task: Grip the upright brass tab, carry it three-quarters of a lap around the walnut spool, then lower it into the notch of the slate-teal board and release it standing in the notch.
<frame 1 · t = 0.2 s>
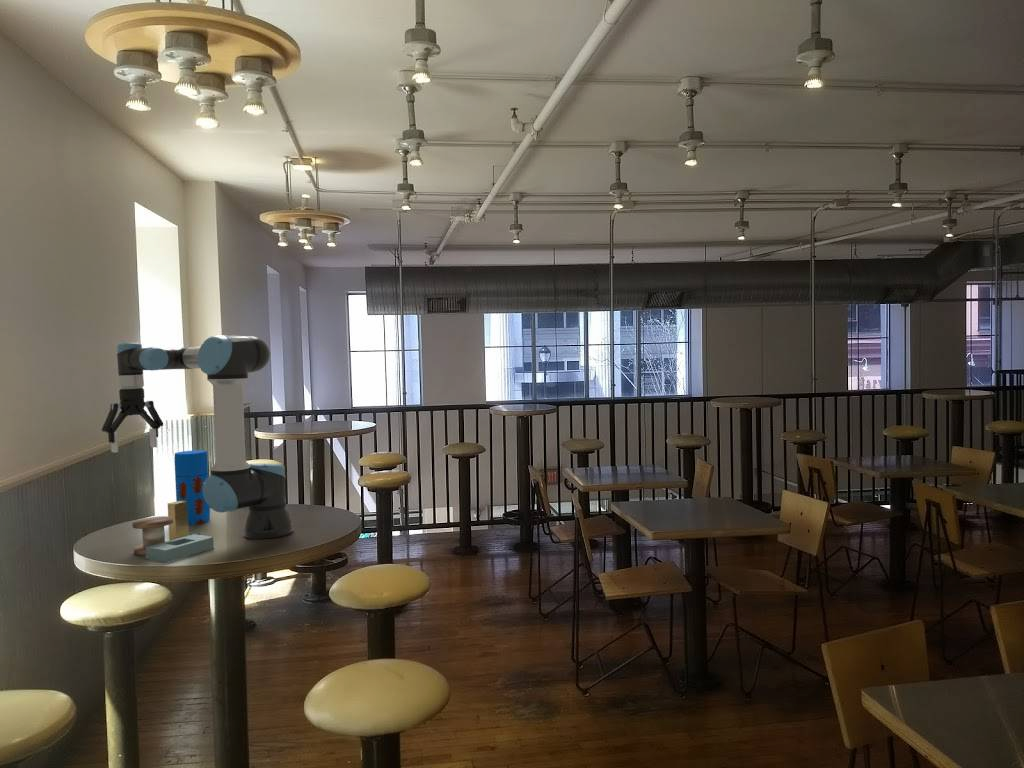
hand: (134, 449, 241), 28 cm above the table, fingers open, 13 cm apart
notch board: (180, 553, 209), on the table
tab: (179, 539, 226), on the table
thermos: (194, 522, 251), on the table
spool: (154, 550, 213), on the table
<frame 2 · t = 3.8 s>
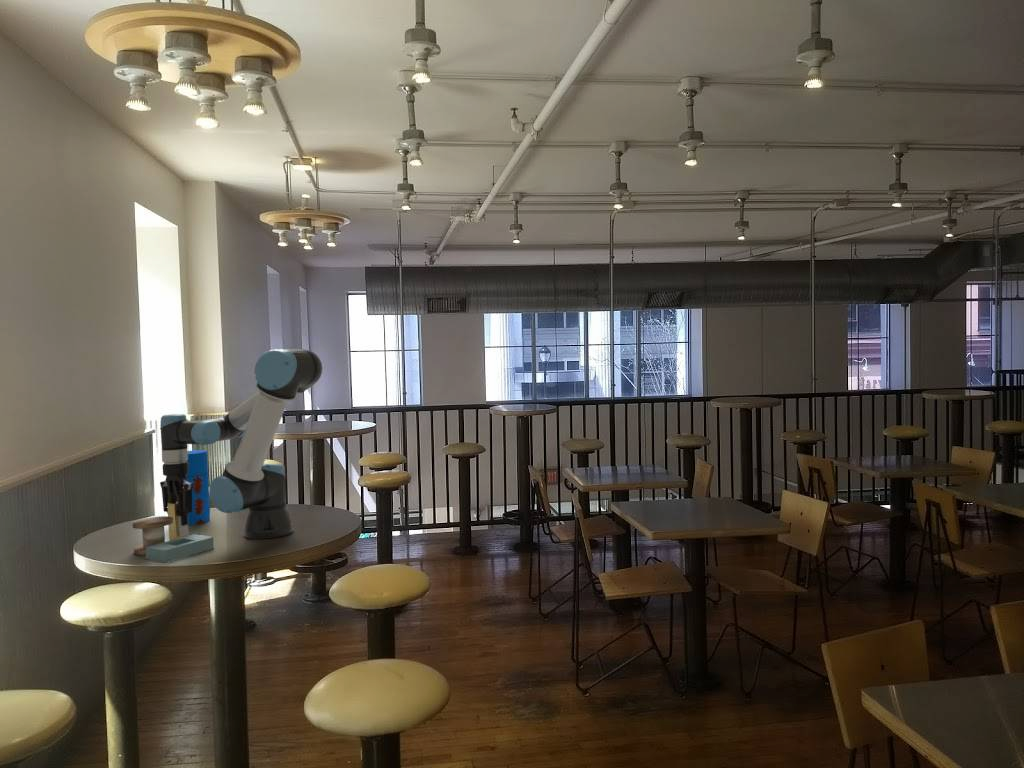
hand: (178, 534, 226), 2 cm above the table, fingers closed on tab, 3 cm apart
tab: (179, 539, 226), on the table, touching gripper
everything else where it was.
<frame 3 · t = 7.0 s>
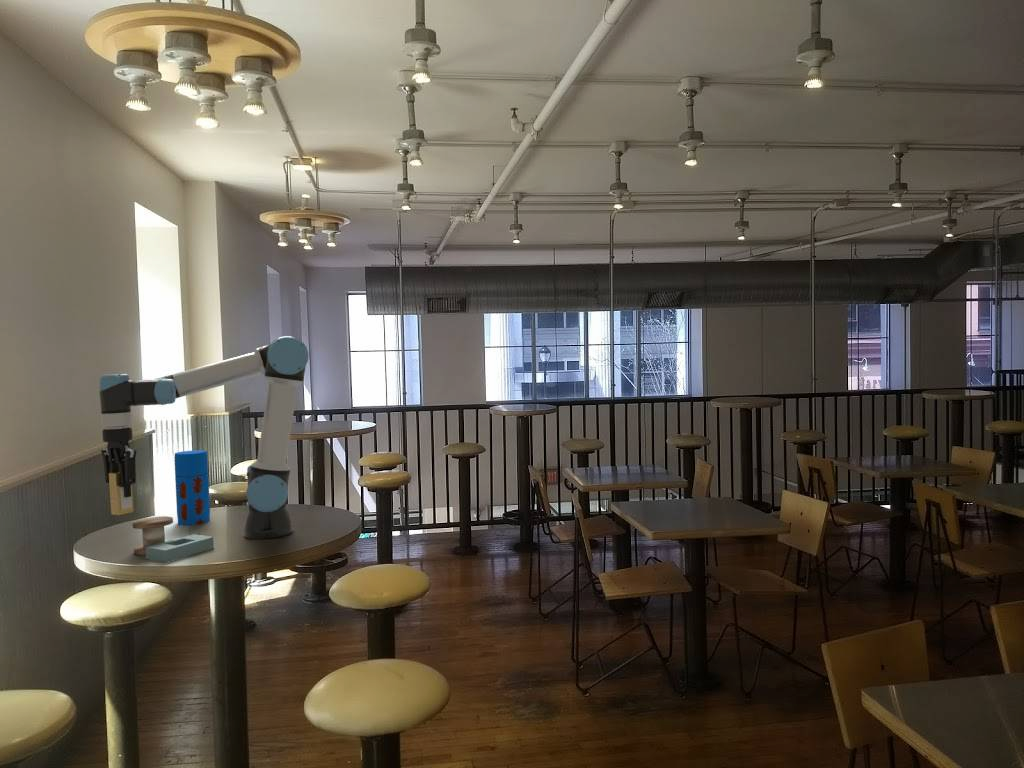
hand: (122, 507, 204), 15 cm above the table, fingers closed on tab, 3 cm apart
tab: (122, 513, 204), point 14 cm above the table, touching gripper
everything else where it was.
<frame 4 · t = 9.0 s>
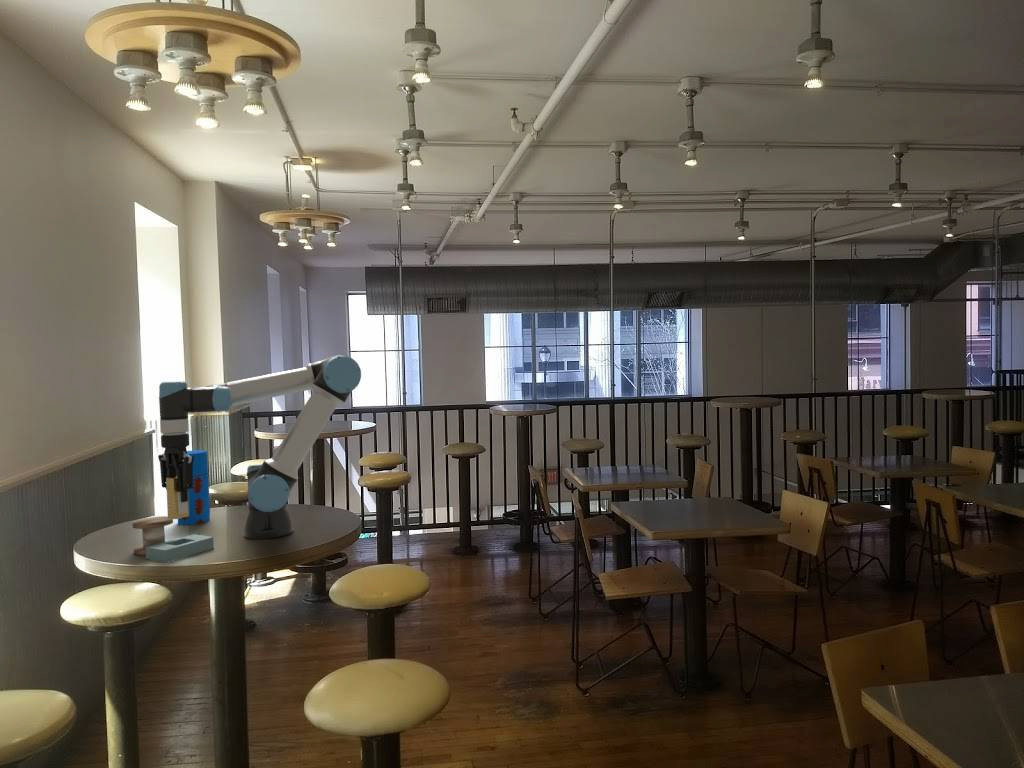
hand: (178, 511, 208), 13 cm above the table, fingers closed on tab, 3 cm apart
tab: (178, 517, 208), point 11 cm above the table, touching gripper
everything else where it was.
when the fingers open (5 cm above the table, at t = 10.5 s): tab drops 3 cm, resting in notch board.
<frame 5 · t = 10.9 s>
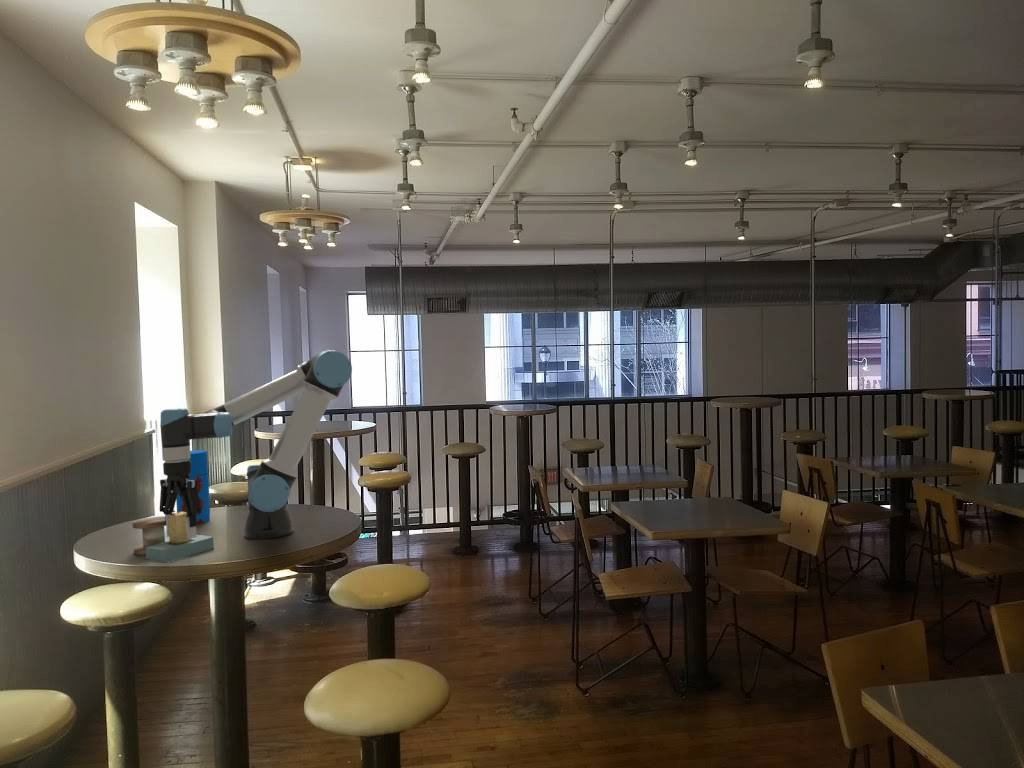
hand: (181, 536, 208), 5 cm above the table, fingers open, 8 cm apart
tab: (180, 553, 209), resting in notch board
everything else where it was.
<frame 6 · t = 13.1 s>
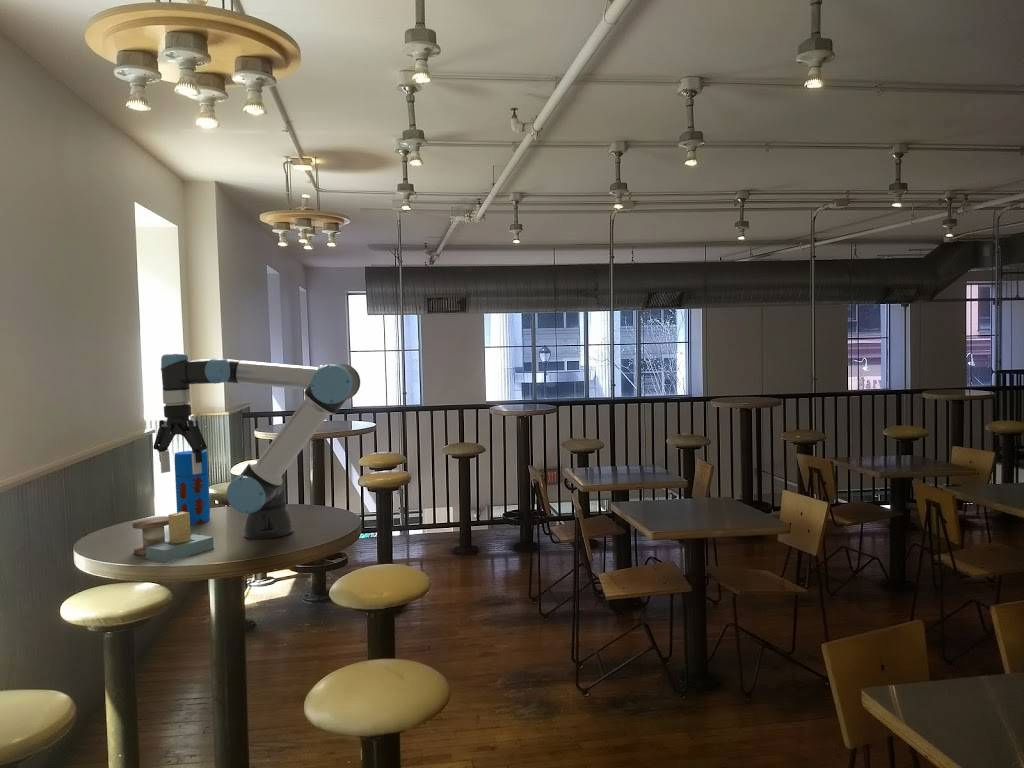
hand: (181, 473, 216), 23 cm above the table, fingers open, 13 cm apart
nothing on the table moved.
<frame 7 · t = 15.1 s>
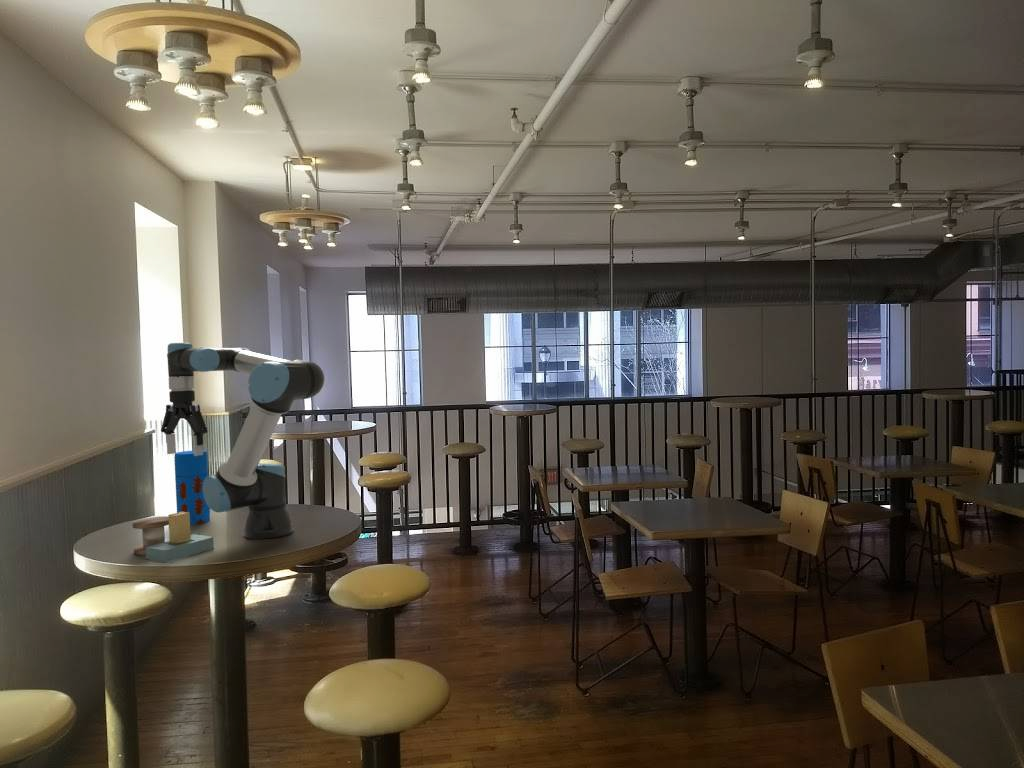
hand: (184, 454, 230), 27 cm above the table, fingers open, 13 cm apart
nothing on the table moved.
at the end: tab 0.0 cm off-centre on the notch board, point 0.0 cm above the notch board's base; the gripper is holding nothing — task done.
